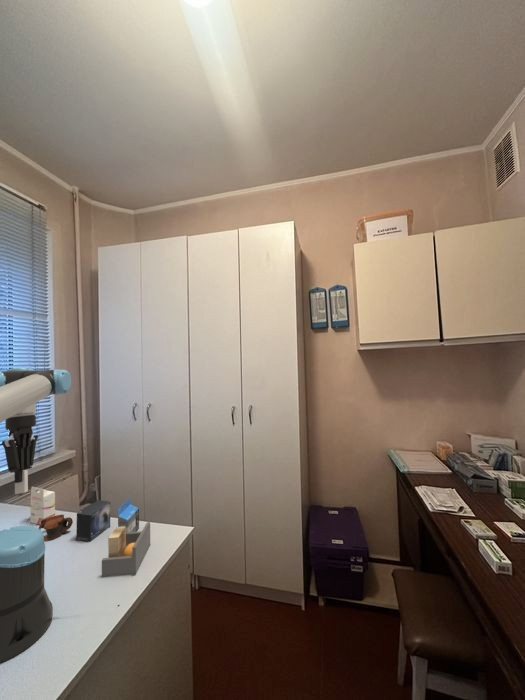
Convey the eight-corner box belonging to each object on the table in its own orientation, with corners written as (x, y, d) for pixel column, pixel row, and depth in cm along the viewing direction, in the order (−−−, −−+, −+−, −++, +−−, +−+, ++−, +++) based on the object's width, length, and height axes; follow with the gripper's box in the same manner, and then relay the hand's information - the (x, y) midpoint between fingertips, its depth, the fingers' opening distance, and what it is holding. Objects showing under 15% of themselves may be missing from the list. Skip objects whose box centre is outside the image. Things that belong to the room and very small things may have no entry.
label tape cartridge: (127, 544, 102) (127, 509, 103) (117, 544, 102) (117, 509, 103) (139, 529, 111) (139, 497, 112) (129, 529, 111) (129, 497, 112)
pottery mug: (31, 548, 103) (32, 522, 106) (47, 544, 111) (47, 521, 114) (67, 534, 105) (66, 510, 109) (80, 532, 113) (79, 510, 117)
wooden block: (118, 566, 90) (118, 537, 90) (108, 567, 90) (108, 538, 90) (125, 553, 96) (125, 526, 96) (116, 554, 96) (116, 527, 96)
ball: (131, 545, 91) (117, 555, 91) (140, 558, 91) (127, 568, 91) (136, 536, 96) (124, 545, 96) (145, 547, 96) (133, 557, 96)
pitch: (135, 577, 86) (135, 548, 86) (51, 584, 84) (51, 555, 85) (150, 545, 101) (150, 521, 101) (80, 551, 99) (80, 526, 99)
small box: (90, 544, 103) (90, 514, 103) (75, 542, 104) (75, 513, 104) (111, 527, 113) (111, 500, 114) (97, 526, 114) (97, 499, 115)
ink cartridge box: (56, 519, 120) (56, 484, 121) (43, 526, 116) (43, 489, 116) (42, 516, 123) (42, 482, 124) (29, 522, 119) (29, 486, 119)
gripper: (22, 416, 98) (22, 488, 94) (-9, 418, 85) (-9, 502, 82) (46, 413, 99) (47, 484, 95) (19, 415, 86) (19, 497, 83)
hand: (21, 492), depth 88 cm, fingers closed
